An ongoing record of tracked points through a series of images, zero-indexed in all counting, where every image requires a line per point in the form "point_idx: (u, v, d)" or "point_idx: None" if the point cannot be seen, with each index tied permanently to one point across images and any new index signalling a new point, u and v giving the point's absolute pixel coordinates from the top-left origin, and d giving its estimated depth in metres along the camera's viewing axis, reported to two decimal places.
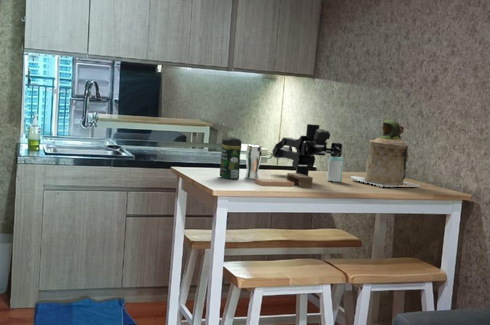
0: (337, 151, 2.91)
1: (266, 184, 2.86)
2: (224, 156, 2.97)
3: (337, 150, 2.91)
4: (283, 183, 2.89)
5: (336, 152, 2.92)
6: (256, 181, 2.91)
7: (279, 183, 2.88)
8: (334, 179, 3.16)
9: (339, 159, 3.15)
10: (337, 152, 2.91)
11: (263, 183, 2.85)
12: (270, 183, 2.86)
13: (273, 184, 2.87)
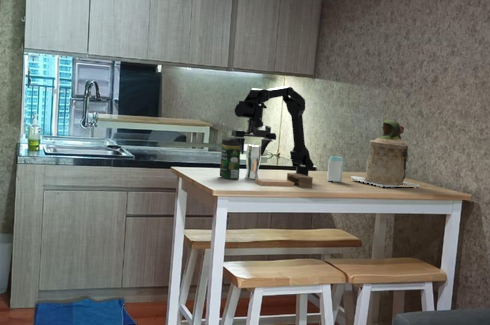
0: (262, 149, 2.87)
1: (265, 184, 2.86)
2: (224, 156, 2.97)
3: (262, 149, 2.87)
4: (283, 183, 2.88)
5: (262, 147, 2.88)
6: (256, 181, 2.91)
7: (279, 183, 2.88)
8: (334, 179, 3.16)
9: (339, 159, 3.15)
10: (261, 149, 2.87)
11: (262, 183, 2.85)
12: (269, 183, 2.86)
13: (272, 184, 2.87)
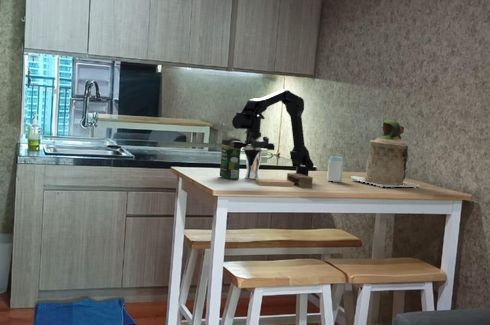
0: None
1: (265, 184, 2.86)
2: (224, 156, 2.97)
3: None
4: (282, 183, 2.88)
5: None
6: (256, 181, 2.92)
7: (278, 183, 2.88)
8: (334, 179, 3.16)
9: (339, 159, 3.15)
10: None
11: (261, 183, 2.86)
12: (269, 183, 2.87)
13: (272, 184, 2.87)
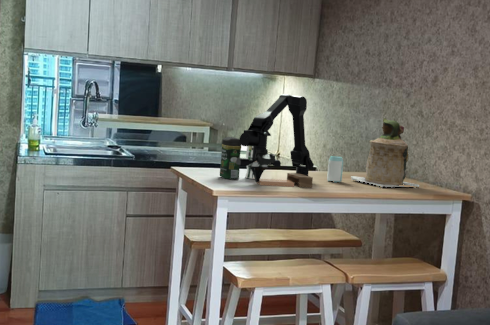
0: None
1: (264, 184, 2.86)
2: (224, 156, 2.97)
3: None
4: (282, 183, 2.88)
5: None
6: None
7: (278, 183, 2.88)
8: (334, 179, 3.16)
9: (339, 159, 3.15)
10: None
11: (261, 183, 2.86)
12: (269, 183, 2.87)
13: (272, 184, 2.87)
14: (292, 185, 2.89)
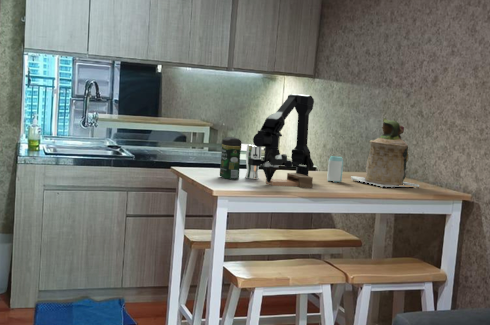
0: None
1: (277, 184, 2.89)
2: (224, 156, 2.97)
3: None
4: (293, 183, 2.91)
5: None
6: None
7: (290, 183, 2.91)
8: (334, 179, 3.16)
9: (339, 159, 3.15)
10: None
11: (274, 183, 2.88)
12: (281, 183, 2.89)
13: (284, 184, 2.90)
14: None
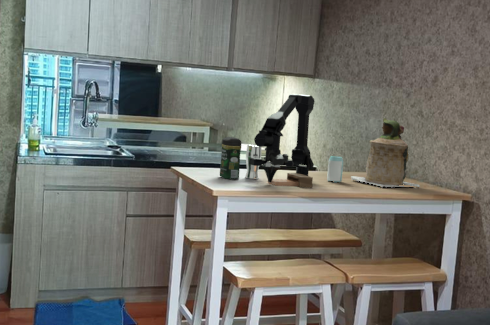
0: None
1: (279, 184, 2.89)
2: (224, 156, 2.97)
3: None
4: (295, 183, 2.92)
5: None
6: None
7: (292, 183, 2.91)
8: (334, 179, 3.16)
9: (339, 159, 3.15)
10: None
11: (276, 183, 2.89)
12: (283, 183, 2.90)
13: (286, 184, 2.90)
14: None
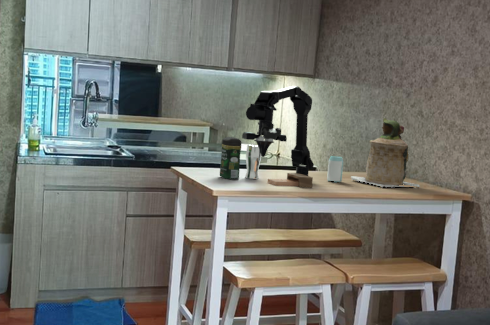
0: None
1: (279, 184, 2.89)
2: (224, 156, 2.97)
3: None
4: (295, 183, 2.92)
5: None
6: (269, 181, 2.94)
7: (292, 183, 2.91)
8: (334, 179, 3.16)
9: (339, 159, 3.15)
10: None
11: (276, 183, 2.89)
12: (283, 183, 2.90)
13: (286, 184, 2.90)
14: None
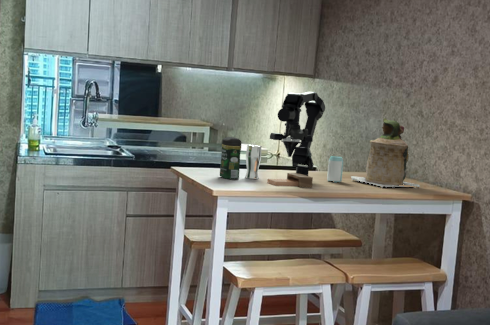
0: None
1: (279, 184, 2.89)
2: (224, 156, 2.97)
3: None
4: (295, 183, 2.92)
5: None
6: (268, 181, 2.94)
7: (291, 183, 2.91)
8: (334, 179, 3.16)
9: (339, 159, 3.15)
10: None
11: (276, 183, 2.88)
12: (283, 183, 2.90)
13: (286, 184, 2.90)
14: None
